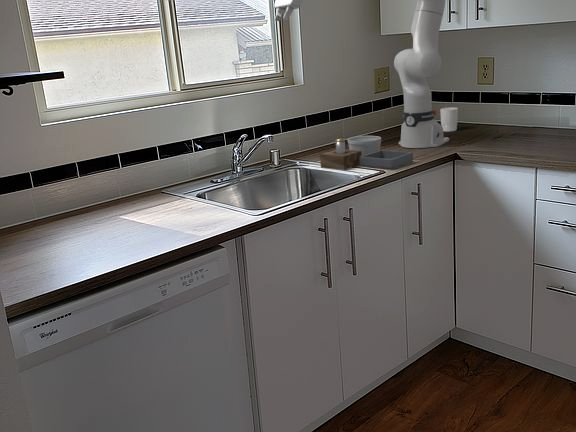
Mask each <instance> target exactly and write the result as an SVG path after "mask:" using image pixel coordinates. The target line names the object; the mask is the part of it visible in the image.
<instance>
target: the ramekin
mask: <svg viewBox="0 0 576 432" xmlns="http://www.w3.org/2000/svg"><path fill="white" fill-rule="evenodd" d="M381 143H382V137H381V136H376V135H359V136H352V137H349V138H348V139H347V144H348V148H349V149H348V150H357V151H362V156H364V155H367V154H370V153H373V152H376V151H379V150H381Z"/></svg>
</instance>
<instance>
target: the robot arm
mask: <svg viewBox="0 0 576 432" xmlns="http://www.w3.org/2000/svg"><path fill="white" fill-rule="evenodd" d="M302 1H303V0H275V2H274V9H276V13H275V17H274V20H275V21H276V22H280V21H281V19H282V20H284V21H289V19H290V16H291V15H292V14H293V13H294V11H295V10H298V9H299V8H300V6H301V5H302ZM445 5H446V0H417V3H416V7H415V10H414V14H413V17H412V22H411V27H410V33H411V35H412V48H406V49H403V50H401V51H400V52H398V53H397V54H396V55H395V56H394V61H393V65H394V69H395V71H396V72H397V74H398V76H399V80H400V83H401V88H402V92H403V113H402V117H403V119H402V120H403V123H402V125H401V129H400V130H401V133H400V140H399V141H398V145H400V147H402V148H406V149H408V148H409V149H421V148H422V149H424V148H437V147H440V146H442V145H444V144H446V143H447V142H449V141H450V137H446V136H444V131H443V127H442V125H441V123H439V122H437V120H436V119H435V116H437V115H438V110H437V109H432V107H433V106H432V104H433V103H432V90H431V88H430V86H429V85H428V83H427V79H426V78H429V77H433V76H435V75H436V74H438V73H439V71H440V70H441V68H442V61H443V60H442V57H441V56H440V53H439V35H440V28H441V26H442V21H443V17H444V13H445V12H444V11H445ZM283 13H284V14H283ZM282 14H283V16H282Z"/></svg>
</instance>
